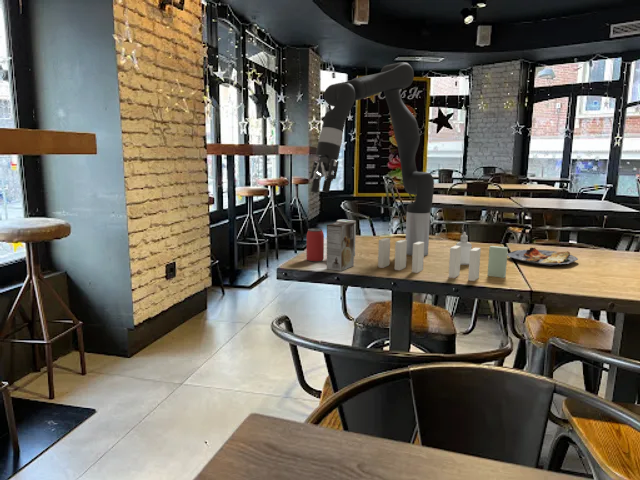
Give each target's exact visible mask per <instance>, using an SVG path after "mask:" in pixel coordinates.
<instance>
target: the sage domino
mask: <svg viewBox="0 0 640 480" xmlns="http://www.w3.org/2000/svg"><path fill="white" fill-rule="evenodd" d="M508 248H509V247H508V246H507V247H506V246H497V245H490V246H489V249H488V263H487V276H488V277H496V278H503V279H505V278H506V277H507V265H508V255H507V254H508V253H509V251H508V250H509V249H508Z"/></svg>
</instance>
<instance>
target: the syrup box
mask: <svg viewBox="0 0 640 480" xmlns="http://www.w3.org/2000/svg"><path fill="white" fill-rule="evenodd" d="M336 222H349V223H354V257H355V256H356V233H357V232H356V228H357V226H356V225H357V221H356V220H350V219H343V218H342V219H337V220H336Z"/></svg>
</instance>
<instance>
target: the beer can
mask: <svg viewBox="0 0 640 480" xmlns="http://www.w3.org/2000/svg"><path fill="white" fill-rule="evenodd" d="M324 235H325V234H324V231H323V228H319V227H318V228H316V227H315V228H308V229H307V233H306V260H307V261H308V262H311V263H318V262H322V261H324V257H325V255H324V254H325V247H324V245H325V236H324Z"/></svg>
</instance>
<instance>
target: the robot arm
mask: <svg viewBox="0 0 640 480" xmlns="http://www.w3.org/2000/svg"><path fill="white" fill-rule="evenodd" d="M414 76H415V73H414V69H413V67H412V66H411V64H409V63H408V62H404V61H403V62H401V61H400V62H397V63H396V62H395V63H392V64H387V65H384V66H383V67H382V68H381V70H380V72H378V73H374V74H369V75H362V76H360V77H357V78H354V79H351V80H348V81H343V82H338V83H334V84H330V85H329V86H327V87H326V89H325V91H324V93H323V99H324V101H325V102H326V104H327V105H329V106H330V107H333V108H332V109H330V110H328V111H326V113H325V114H324V117H323V122H322V127H321V130H320V134H319V136H318V137H319V138H318V142H317V147H316V152H315V156H316V157H317V158H319V159H318V161H313V164H312V169H311V173H310V179H311V181H312V185H311V189H310V192H312V193H315V194H317V193H318V192H319V188H320V183H321V180H322V178H324V180H323V185H322V189H321V191H322V192H323V193H325V194H326V193H327V194H329V192H330V190H331V184H332V182H333V181H334V180H336V179H337V173H338V168H339V164H340V163H339V157H340V152H341V148H342V142H343V133H344V128H345V123H346V120H347V118H348V116H349V115H350V112H351V110H352V108H353V105H354V103H355V101H359V100H360V101H361V100H363V99H366V98H369V97H372V96H374V95H377V94H380V93H382V92H383V94H384V98H385V101H386V103H387V107H388V111H389V114H390V118H391V119H390V120H391V123H392V127H393V133H394V137H395V142H396V146H397V151H398V156H399V161H400V168H401V169H400V170H401V177H402V178H401V179H402V183H403V185H402V186H403V188H404V190H405V192H406V193H407V194H409V195H413V196H415V199H414V201H413V202H412V203H411V202H410V203H409V204H407V206H406V222H405V223H406V224H405V225H406V226H405V240H407V252H406V256H407V255H408V256H413V244H414V243H416V242H424V256H428V255H429V245H430V244H429V243H430V242H429V241H430V221H431V220H430V219H431V208H432V205H433V202H434V201H433V199H434V190H435V181H434V177H433V175H432V174H431V172H428V171H427V172H425V171H418V169H417V166H416V156H417V155H416V154H417V151H418V148H419V145H420V142H421V141H420V140H421V135H420V131H419V129H420V128H419V125H418V121H417V119H416V117H415V115H413V113H412V112H411V111H410V110H409V108H408V107H407V106H406V104H405V103H404V101H403V99H402V96H401V93H400V90H403V89H407V88H408V87H410V86H411V85H412V83H413V81H414Z"/></svg>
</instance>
